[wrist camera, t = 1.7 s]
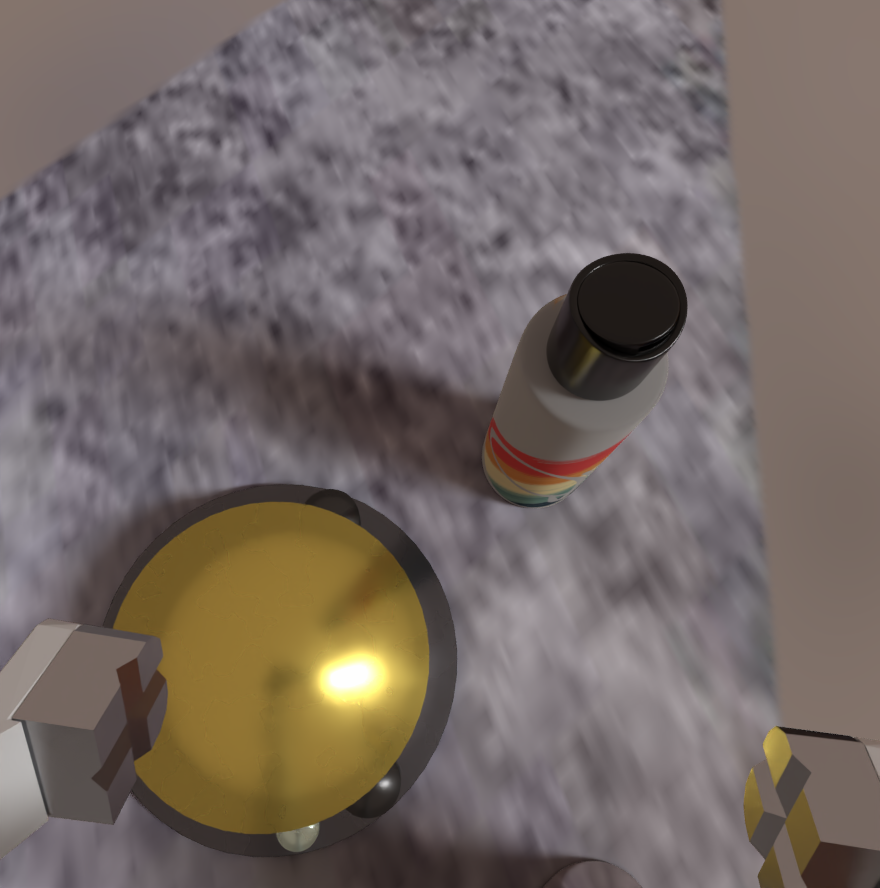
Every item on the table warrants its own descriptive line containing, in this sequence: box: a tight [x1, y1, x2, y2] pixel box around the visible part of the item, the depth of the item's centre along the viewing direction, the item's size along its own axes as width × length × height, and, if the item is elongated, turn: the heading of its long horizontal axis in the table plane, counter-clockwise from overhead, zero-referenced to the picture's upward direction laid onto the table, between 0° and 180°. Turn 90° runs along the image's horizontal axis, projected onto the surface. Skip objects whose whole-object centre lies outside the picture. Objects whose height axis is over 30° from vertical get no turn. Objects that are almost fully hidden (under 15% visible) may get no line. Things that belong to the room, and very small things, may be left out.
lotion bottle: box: [482, 253, 687, 508], centre depth 34 cm, size 6×6×20 cm
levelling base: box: [103, 485, 457, 857], centre depth 39 cm, size 18×18×3 cm
